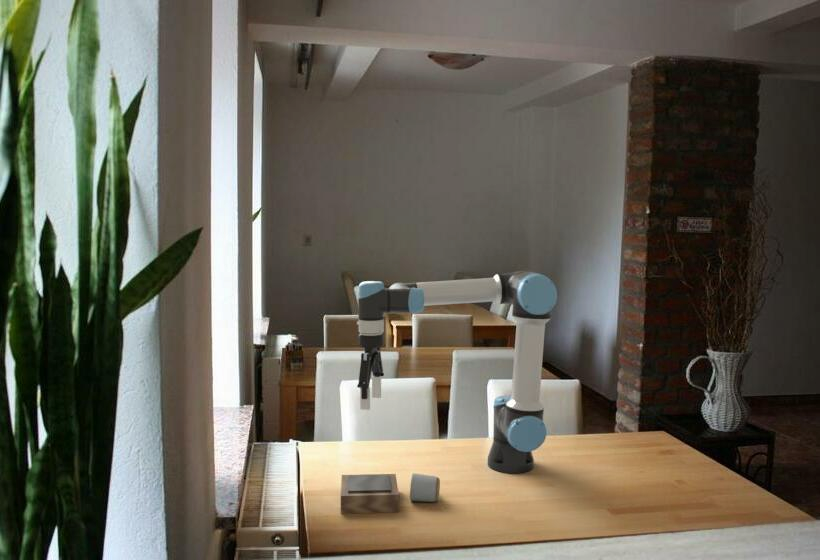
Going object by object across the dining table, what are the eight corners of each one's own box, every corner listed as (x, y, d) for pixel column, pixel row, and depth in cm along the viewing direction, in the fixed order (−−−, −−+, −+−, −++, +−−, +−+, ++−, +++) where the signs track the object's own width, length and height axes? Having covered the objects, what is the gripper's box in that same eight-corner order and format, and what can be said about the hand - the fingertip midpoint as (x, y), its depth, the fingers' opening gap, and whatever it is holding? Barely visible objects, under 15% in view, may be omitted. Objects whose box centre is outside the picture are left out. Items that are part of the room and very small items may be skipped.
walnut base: (395, 490, 218) (395, 471, 218) (398, 512, 202) (398, 492, 202) (341, 491, 217) (341, 472, 216) (340, 513, 201) (340, 493, 201)
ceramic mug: (438, 506, 206) (438, 479, 206) (409, 504, 207) (409, 478, 207) (440, 492, 217) (441, 467, 216) (413, 491, 218) (413, 466, 217)
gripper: (369, 326, 230) (369, 392, 232) (347, 340, 205) (347, 413, 207) (392, 327, 228) (392, 393, 230) (372, 341, 204) (372, 415, 206)
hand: (371, 403), depth 219 cm, fingers open, 13 cm apart
